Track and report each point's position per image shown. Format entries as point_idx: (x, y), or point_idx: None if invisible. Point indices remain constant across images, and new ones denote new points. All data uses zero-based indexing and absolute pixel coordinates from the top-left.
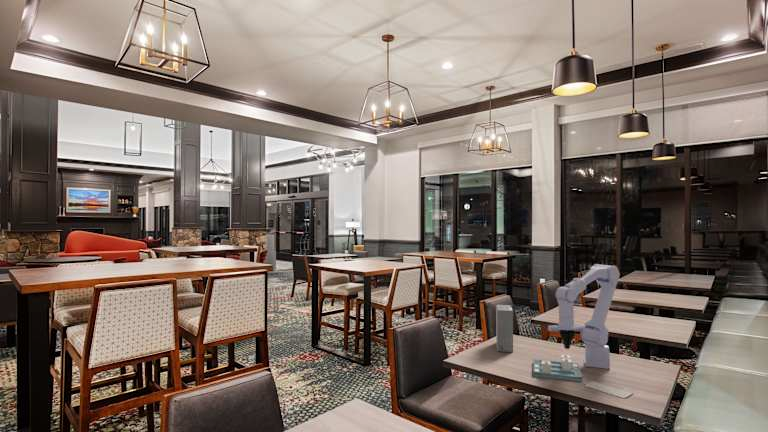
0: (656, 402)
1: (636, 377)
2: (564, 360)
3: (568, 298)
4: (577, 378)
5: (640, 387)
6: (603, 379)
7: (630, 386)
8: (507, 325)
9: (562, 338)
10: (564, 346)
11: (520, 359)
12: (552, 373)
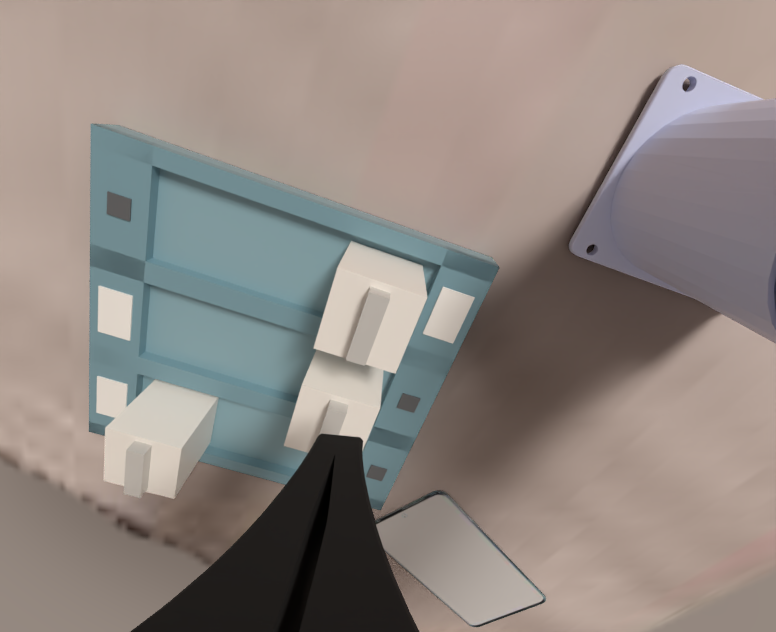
0: None
1: (768, 449)
2: (309, 429)
3: None
4: None
5: (647, 553)
6: (527, 466)
7: (605, 542)
8: None
9: (252, 543)
10: (313, 449)
11: None
12: (223, 423)
